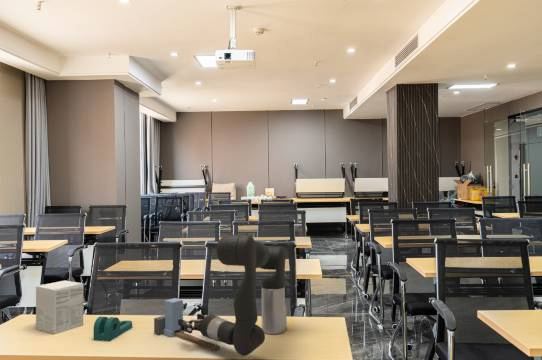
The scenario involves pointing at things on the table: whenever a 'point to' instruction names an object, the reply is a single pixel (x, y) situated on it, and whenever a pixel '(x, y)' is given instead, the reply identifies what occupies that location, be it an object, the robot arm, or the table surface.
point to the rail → (197, 341)
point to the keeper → (173, 316)
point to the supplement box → (59, 306)
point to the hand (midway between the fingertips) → (188, 319)
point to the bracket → (110, 328)
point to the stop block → (159, 325)
